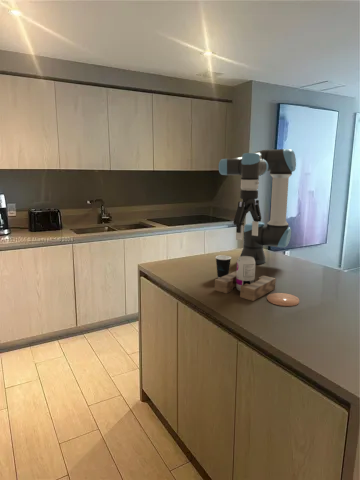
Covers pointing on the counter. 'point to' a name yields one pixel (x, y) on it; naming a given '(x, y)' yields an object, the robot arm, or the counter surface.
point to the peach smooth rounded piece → (283, 299)
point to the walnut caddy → (246, 286)
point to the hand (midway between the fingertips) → (247, 237)
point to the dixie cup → (222, 265)
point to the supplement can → (245, 271)
